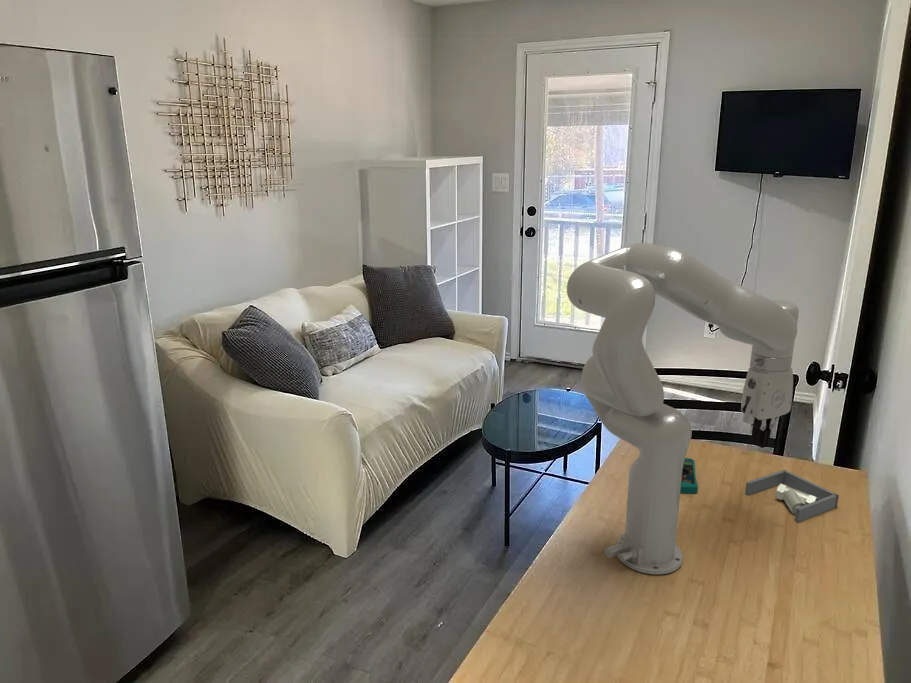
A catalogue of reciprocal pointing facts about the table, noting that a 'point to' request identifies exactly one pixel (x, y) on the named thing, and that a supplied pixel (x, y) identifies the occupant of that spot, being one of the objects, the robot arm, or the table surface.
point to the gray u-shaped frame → (809, 510)
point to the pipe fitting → (794, 497)
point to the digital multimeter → (688, 477)
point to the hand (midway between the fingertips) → (759, 444)
